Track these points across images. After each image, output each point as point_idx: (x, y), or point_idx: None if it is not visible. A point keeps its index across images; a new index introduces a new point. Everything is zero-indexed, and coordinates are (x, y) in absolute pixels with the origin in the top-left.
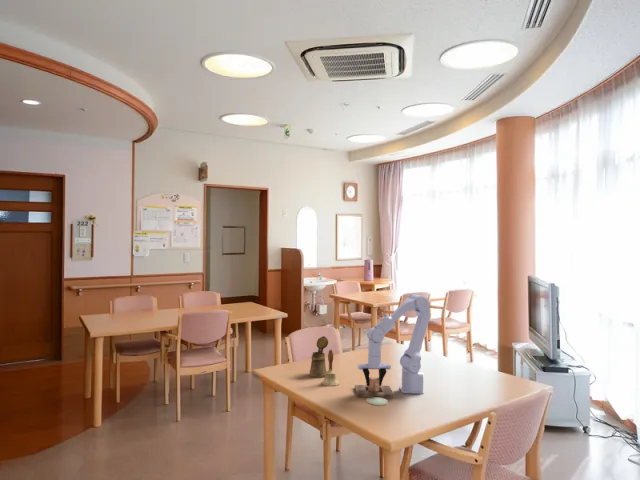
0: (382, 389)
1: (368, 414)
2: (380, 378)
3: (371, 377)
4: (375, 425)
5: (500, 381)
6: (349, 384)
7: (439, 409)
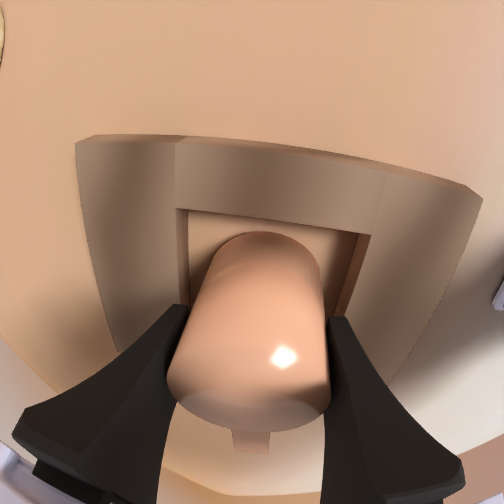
0: (357, 304)
1: (188, 450)
2: (327, 432)
3: (218, 359)
4: (203, 475)
5: None
6: (65, 29)
7: (462, 433)
